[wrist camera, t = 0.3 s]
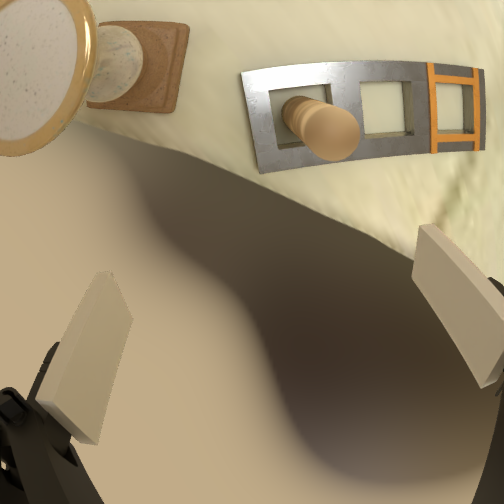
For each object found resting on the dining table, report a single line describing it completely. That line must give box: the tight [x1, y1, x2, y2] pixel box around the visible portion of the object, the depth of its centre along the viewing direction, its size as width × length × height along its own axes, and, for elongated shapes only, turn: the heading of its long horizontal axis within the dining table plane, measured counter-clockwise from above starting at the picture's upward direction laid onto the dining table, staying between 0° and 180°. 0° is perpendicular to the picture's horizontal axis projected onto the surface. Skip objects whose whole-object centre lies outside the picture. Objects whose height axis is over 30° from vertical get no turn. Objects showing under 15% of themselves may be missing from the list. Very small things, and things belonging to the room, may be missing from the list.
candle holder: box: [0, 0, 190, 157], centre depth 20 cm, size 11×11×24 cm
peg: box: [282, 96, 360, 161], centre depth 29 cm, size 4×4×14 cm
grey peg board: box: [241, 61, 486, 174], centre depth 33 cm, size 12×33×3 cm, turn 100°
